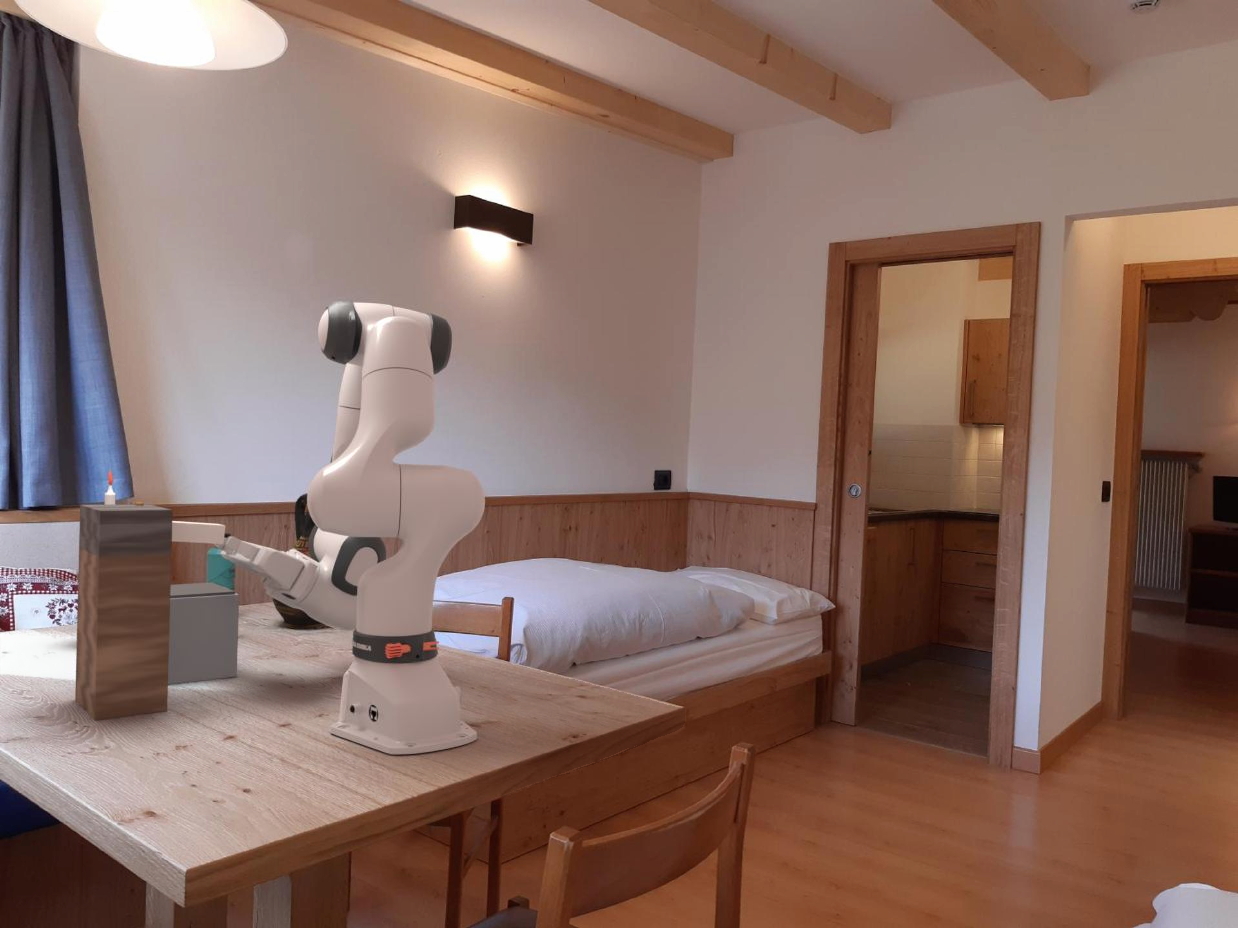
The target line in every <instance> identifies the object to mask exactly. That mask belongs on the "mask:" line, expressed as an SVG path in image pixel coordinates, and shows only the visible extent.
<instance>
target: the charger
mask: <svg viewBox="0 0 1238 928" xmlns="http://www.w3.org/2000/svg"><path fill="white" fill-rule="evenodd" d="M225 533H226V525H224V524H221V523H213V522H212V523H211V522H209V523H208V522H196V521H195V522H193V521H192V522H191V521H179V520H177V521H176V520H172V542H175V543H176V542H179V543H194V544H195V543H200V544H212V543H214V544H223V542H224V534H225ZM214 544H213V545H214Z"/></svg>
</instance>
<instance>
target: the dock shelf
mask: <svg viewBox="0 0 1238 928" xmlns="http://www.w3.org/2000/svg"><path fill="white" fill-rule="evenodd" d="M239 604H240V594H238V593H236V591H235V590H234V591H233V590H230V589H228V588H225V587H223V586H220V585H217V584H215V583H212V582H211V583H206V582H195V583H193V582H192V583H181V584H179V583H177V584H171V591H170V629H169V667H168V685H175V684H185V683H192V682H200V681H209V680H218V679H227V678H233V677H235V678H236V677H238V645H239V643H238V642H239V615H240V614H239V612H240V609H239V607H240V605H239Z"/></svg>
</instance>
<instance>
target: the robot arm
mask: <svg viewBox="0 0 1238 928" xmlns="http://www.w3.org/2000/svg"><path fill="white" fill-rule="evenodd" d="M452 332H453V331H452V328H451V325H450V323H449V322H448V321H447V319H445V318H443V317H442V316H440V315H436V314H433V313H430V312H427V313H423V312H421V311H420V312H419V311H416V310H412V309H408V308H403V307H398V306H392V305H391V304H384V303H374V302H354V301H353V300H351V299H346V300H336V301H335V300H334V301H332V302H330V303H329V305H327V306H326V307H325V310H324V313H323V314H322V315H321V318H320V321H319V324H318V328H317V336H318V337H317V338H318V342H319V344H320V349H321V353H322V354H323V355H324V356H325V357H326V358H327V359H328V360H329V361H331V362H334V363H338V364H341V365H344V366H345V368H344V371H343V375H342V380H341V385H340V389H339V396H338V402H337V403H338V404H337V413H336V423H335V433H334V434H335V435H334V442H333V449H332V454H331V458H330V463H329V464H326V466H324V467H322V468H321V469H320V470H319V471H318V472H317V473H316V474H315V476H314V477H313V478H312V480H311V482H310V484H309V487H308V491H307V493H308V495H307V504H306V506H307V511H308V510H309V513H310V516H311V518H312V520H313V521H314V523H315V526H314V528H313V529H312V531H311V534H310V537H309V541H308V550H309V554H310V556H311V558H312V559H311V558H310V557H308V556H306V555H304V554H302V553H301V552H299V551H297V550H295V549H292V548H290V549H291V550H290V549H289V550H287V551H286V552H285V551H284V550H277V549H275V548H271V547H268V546H264V545H260V544H256V543H252V542H248V541H244V540H241V539H239V538H237V537H235V536H232V535H231V536H229V537H228V538H225V537H224V542H223V544H214V543H211V544H212V545H214V546H215V547H218V548H219V549H221V550H222V552H221V556H222V557H224V558H225V559H227V560H229V561H231V562H233V563H235V565H236V566H238V567H241V568H243V569H245V570H247V571H249V572H251V573H253V574H255V575H259V576H260V578H261V579H260V582H261V584H262V585H264V592H265V594H266V595H267V596H269V597H271V598H272V597H273V598H274V599H276V600H278V601H280V602H282V603H284V604H286V605H288V606H290V607H292V608H297V609H300V610H303V611H304V612H305V613H306V614H307V615H308V616H309V617H311V618H313V619H315V620H317V621H319V622H321V623H323V624H325V625H326V626H328V627H330V628H333V629H335V630H339V631H344V632H351V631H353V632H352V633H353V634H352V639H351V645H352V649H351V651H352V652H351V653H352V655H353V660H352V663H351V665H350V666H349V667H348V669H347V670H346V671H345V673H343V677H342V686H341V695H340V696H341V697H340V704H339V705H340V707H339V717H338V721H336V722H333V723H332V724H331V725H330V730H329V733H331V734H333V735H334V736H337V737H340V738H343V739H346V740H349V741H352V742H354V743H358V744H361V745H363V746H366V747H369V748H372V749H373V750H376V751H377V750H378V751H380V752H383V753H384V754H385V753H386V754H389V755H411V754H423V753H430V752H435V751H442V750H446V749H451V748H456V747H460V746H464V745H467V744H470V743H472V742H474V741H476V740H478V733H477V731H476V730H475V729H474V728H472V727H471V726H469V725H468V723H466V722H465V721H464V720H462V718H461V714H462V713H461V710H462V709H461V700H462V694H463V691H462V689H461V687H460V686H459V685H458V686H454V685H453V683H452V681H451V679H450V678H449V677H448V675H447V673H446V671H445V669H444V668H443V667H442V666H441V664H440V662H439V659H438V657H437V656H438V654H439V652H438V650H439V649H440V647H438V646H437V645H438V644H439V643H440V642H439V641H437V637H436V635H435V630H434V628H433V608H434V607H433V606H434V598H435V597H434V596H435V591H436V590H435V589H436V584H437V583H436V581H437V577H438V574H439V572H440V569H441V566H442V564H443V562H444V561H445V559H446V557H447V556H448V554H449V553H450V551H452V549H453V548H454V547H455V545H457V543H459V542H460V541H461V540H462V539H463V538H464V537H466V536H468V535H469V534H470V533H471V532H472V531H474V529H475V528H476V527H477V526H478V525H479V523H480V521H481V520H482V518H483V515H484V511H485V507H486V506H485V505H486V496H485V495H486V494H485V491H484V488H483V486H482V484H481V481H480V480H479V478H478V477H477V476H476V475H475V473H473V472H472V471H470V470H467V469H466V470H465V469H461V468H457V467H453V466H448V465H441V464H440V465H439V464H411V463H410V464H408V463H407V464H403V463H397V462H394V459H395V457H397V456H398V455H400V454H402V453H403V452H404V451H407V450H409V449H412V448H414V447H416V446H418V445H420V444H421V443H422V442H424V441H426V439H427V438H429V436H430V435H431V434H432V432H433V430H434V427H435V376H434V375H437V374H439V373H440V372H441V371H443V370H444V369H446V367H447V366H448V363H449V361H450V358H451V356H452V354H453V353H452V352H453V348H454V342H453V341H454V340H453V339H454V338H453V333H452ZM382 538H397V539H400V540H402V544H401V547H400V548H399V550H397V553H395V554H394V555H392V556H390V557H388V558H387V548H386V545H385V543H384V541H383V539H382Z"/></svg>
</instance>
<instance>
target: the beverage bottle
mask: <svg viewBox="0 0 1238 928" xmlns="http://www.w3.org/2000/svg"><path fill="white" fill-rule="evenodd" d="M229 536H232V535H231V533H227V532H225V534H224V537H225V538H228V537H229ZM221 552H222V550H221V549H219V548H218V547H217V546H215V547H211V548H210V549H209V550H208V551H207V552H206V579H205V581H206V582H205V583H211V582H212V583H215V584H217V585H220V586H223V587H226V588H228V589H230V590H233V591H235V590H236V585H235V584H236V583H235V582H236V580H235V579H236V574H237V573H236V569H237V568H236V564H235V563H233V562H231V561H229V560H227V559H225V558H224V557H222V556H221Z"/></svg>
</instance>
